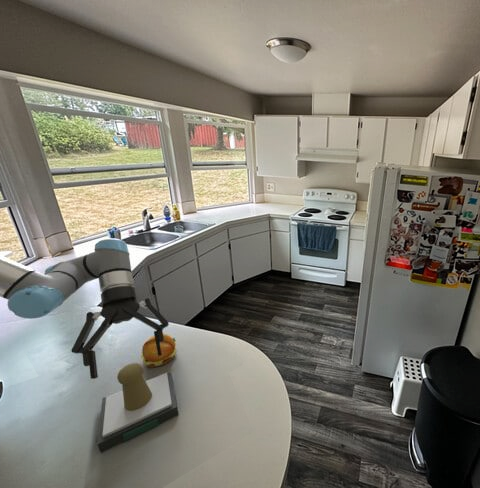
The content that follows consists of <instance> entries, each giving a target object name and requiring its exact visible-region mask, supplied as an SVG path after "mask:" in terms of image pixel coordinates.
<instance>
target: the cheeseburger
mask: <svg viewBox="0 0 480 488" xmlns="http://www.w3.org/2000/svg"><path fill="white" fill-rule="evenodd" d="M163 337H164V341H163V342H160V347H161V352H162V355H160V356H158V352H157V347H156V341H155V336H154V335H153V336H151V337H149V338H148V339H147V340H146V341H145V342H144V343H143V345H142V349H141V358H142V364H143V365H145V366H146V367H150V368H156V367H160V366H163V365H165V364H167V363H168V362H170V361H171V360H172V359H173V358H174V357H175V355H176V353H177V350H178V349H177V347H176V345H177V344H176V343H177V342H176V338H175V337H172V336H170V334H166V333H163Z"/></svg>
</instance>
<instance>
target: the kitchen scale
mask: <svg viewBox="0 0 480 488" xmlns="http://www.w3.org/2000/svg"><path fill="white" fill-rule="evenodd" d="M145 381H146V383H147V385H148V387H149V389H150V391H151V392H152V397H151V400H150V401H149V402H148V403H147V404H146V405H145V406H143V407H142V408H140V409H137V410H134V411H128V410H126V409H125V407H124V397H123V389H122V390H120V391H116V392H115V393H111V394H109V395H107V396H104V397H102V400H101V401H102V402H101V409H100V417H99V426H98V435H97V443H96V445H97V447H98V450H99V452H100V453H103V452H106V451H108V450H110V449H112V448H114V447H116V446H118V445H121V444H122V443H124V442H126V441H128V440H130V439H132V438H134V437H136V436H138V435H140V434H143V433H145V432H146V431H149V430H150V429H152V428H154V427H157V426H159V425H161V424H163V423H165V422H167V421H169V420H171V419H173V418H175V417H178V416H179V413H180V412H179V408H178V403H177V398H176V391H175V386H174V380H173V375H172V371H168V372H165V373H162V374H159V375H157V376H155V377H152V378H150V379H147V380H145Z"/></svg>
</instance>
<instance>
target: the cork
mask: <svg viewBox="0 0 480 488" xmlns="http://www.w3.org/2000/svg"><path fill="white" fill-rule="evenodd" d="M143 374H144V366H142V364H140V363H138V362H132V363H129V364H126V365H125V366H123V367H121V369H120V370H119V371H118V373H117V382H118V383H119V384H121V386H122V390H123V397H124V407H125V409H126V410H128V411H134V410H137V409H140V408H142V407H143V406H145V405H146V404H147V403H148V402H149V401H150V400H151V397H152V392H151V391H150V389H149V387H148V385H147V383H146V381H147V380H146V379H145V377H144V376H143Z"/></svg>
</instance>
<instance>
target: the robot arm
mask: <svg viewBox="0 0 480 488" xmlns="http://www.w3.org/2000/svg"><path fill="white" fill-rule="evenodd" d="M93 249H94V251H93V252H90V253H88V254H85V255H81V256H78V257H75V258H72V259H67V260H65V261H59V262H58V263H56V264H53V265H50V266H49V267H47V268H46V269H45V270H44V273H42V272H39V271H38V270H35V269H32V268H30V267H28V266H26V265H23V264H20V263H18V262H16V261H14V260H11V259H9V258H7V257H4V256H2V255H0V298H3V299H6V300H7V308H8V310H9V311H10V312H12V313H13V314H14V315H15V316H16V317H19V318H21V319H22V318H23V319H30V320H31V319H32V320H34V319H40V318H43V317H45V316H47V315H49V314H50V313H51V312H53V311H54V310H55V309H57V308H59V307H60V306H62V304H63V303H64V302H65V301H66V300H67V299H69V298H70V297H71V296H72V295H73V294H74V293H76V292H77V291H78V290H79V289H80V288H82V287H83V286H84V285H85V284H87V283H89V282H92V281H94V280H97V279H98V285H99V292H100V300H101V311H94V312H93V311H88V312H87V313H86V314H85V315H86V316H85V322H84V324H83V326H82V328H81V330H80V332H79V335H78V336H77V338H76V340H75V342H74V344H73V345H72V348H71V353H72V354H76V355H77V354H81V355H82V363H83V366H84V367H89V375H90V379H92V380H94V379H97V378H99V375H98V365H97V357H96V351H95V350H93V349H94V347H95V346H96V345H97V344H98V343H99V342H100V340H101V339H102V337H103V336H104V334H105V333H106V332H107V331H108V329H109V328H111V327H112V325H113V324H114V325H118V324H121V323H123V322H129V321H131V320H132V319H135V320H137V321H140V322H141V323H143V324H144V325H147V326H148V327H150V328H152V329H154V331H153V336H155V341H156V347H157V352H158V356H160V355H162V352H161V347H160V342H163V341H164V337H163V334H164V332H163V330H165V329H166V328H168V327H169V325H170V323H169V321H168V320H167V319H166V317H164V316H163V315H162V314H161V313H160V312H159V310H157V309H156V308H155V306H153V304H152V302H151V300H150V298H149V297H146V298H145V299H144V300H142V301H139V302H138V299H137V293H136V288H135V282H134V275H133V271H132V266H131V258H130V255H131V254H130V252H129V248H128V245H127V243H126V241H124V240H122V239H119V238H105V239H104V238H103V239H100V240H98V242H96V243H95V244H94V248H93ZM140 307H142V308H143V309H147V310H148V312H150V313H151V314H152V315H153V316H154V317H155V319H157V321H158V322H159V323H160V324H159V323H157V322H155V321H153V320H151V319H150V318H148V317H147V316H145V315H143V314H141V313H140V312H138V311H139V309H140ZM100 317H102V318H104V319H103V321H102V322H101V324H100V325H99V327H98V328H97V329H96V331H95V332H94V333H93V334H92V336H91V337H90V338H89V336H90V333H91V331H92V330H93V327H94V326H95V322H96V321H98V320H99V318H100ZM88 338H89V340H88Z"/></svg>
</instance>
